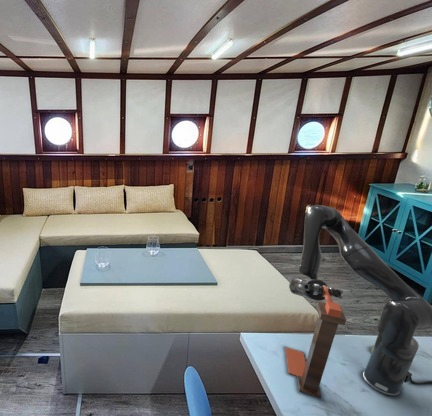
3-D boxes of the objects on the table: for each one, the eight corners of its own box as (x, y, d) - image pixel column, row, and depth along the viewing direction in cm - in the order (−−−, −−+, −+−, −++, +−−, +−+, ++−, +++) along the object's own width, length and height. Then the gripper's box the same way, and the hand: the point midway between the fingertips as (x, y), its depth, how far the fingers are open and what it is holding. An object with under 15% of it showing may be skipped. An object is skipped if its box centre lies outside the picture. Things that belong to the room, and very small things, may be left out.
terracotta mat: (285, 348, 113) (285, 347, 113) (303, 353, 110) (303, 352, 110) (288, 373, 102) (288, 372, 102) (308, 380, 99) (308, 379, 99)
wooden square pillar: (296, 376, 101) (317, 301, 91) (317, 383, 98) (340, 306, 88) (299, 392, 95) (321, 313, 85) (320, 399, 93) (346, 319, 83)
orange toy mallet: (317, 288, 98) (319, 281, 97) (328, 290, 96) (330, 284, 96) (327, 315, 84) (329, 308, 84) (339, 318, 83) (342, 311, 82)
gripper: (293, 275, 111) (303, 274, 95) (337, 283, 105) (355, 284, 90) (291, 294, 110) (301, 297, 94) (335, 304, 104) (353, 309, 89)
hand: (327, 291), depth 92 cm, fingers closed
